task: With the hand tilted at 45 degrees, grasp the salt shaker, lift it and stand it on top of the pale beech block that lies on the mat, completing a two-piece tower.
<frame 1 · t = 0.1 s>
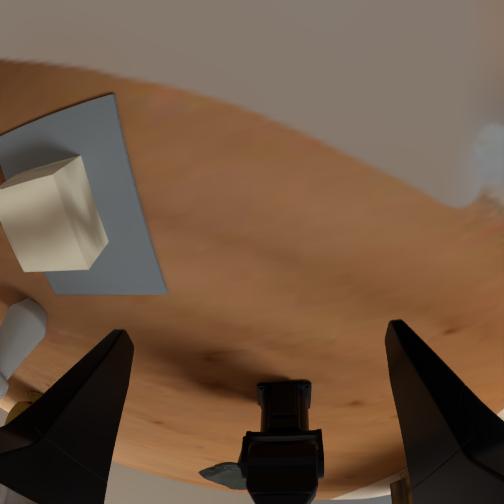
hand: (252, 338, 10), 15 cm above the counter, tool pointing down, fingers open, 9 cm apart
pitcher: (57, 408, 51), on the counter
beech block: (59, 206, 24), resting on mat
stone slab: (234, 473, 62), on the counter
crate: (460, 455, 60), on the counter
mat: (72, 213, 25), on the counter
salt shaker: (35, 309, 33), on the counter
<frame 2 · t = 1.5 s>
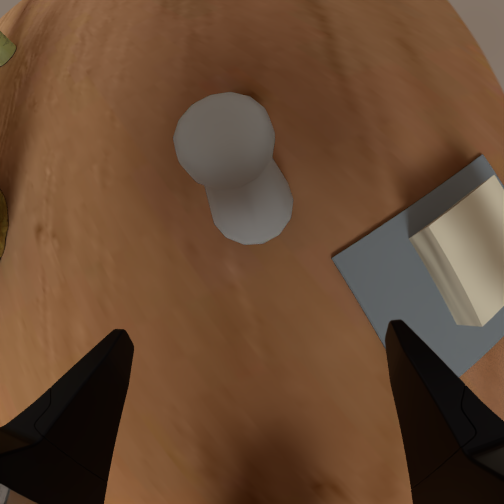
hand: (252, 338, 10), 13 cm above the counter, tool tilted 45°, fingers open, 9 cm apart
tube: (7, 57, 36), on the counter
beech block: (467, 254, 22), resting on mat
mat: (463, 272, 22), on the counter
salt shaker: (255, 213, 25), on the counter
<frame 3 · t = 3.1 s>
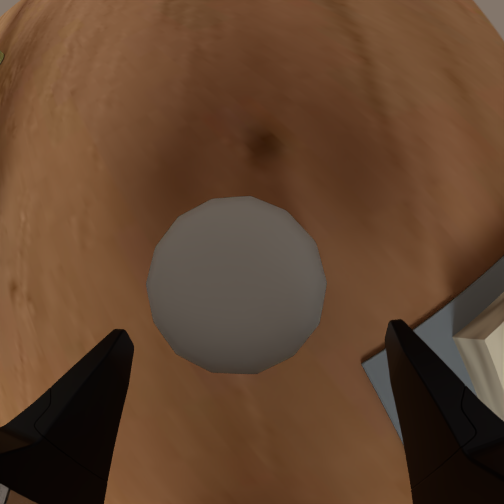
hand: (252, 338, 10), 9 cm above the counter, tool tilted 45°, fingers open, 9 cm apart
mat: (503, 368, 16), on the counter
salt shaker: (270, 303, 19), on the counter
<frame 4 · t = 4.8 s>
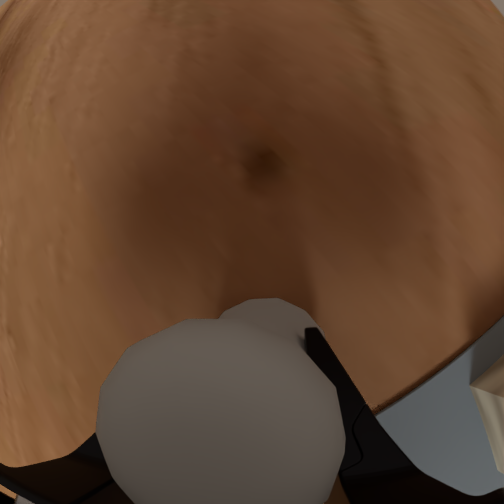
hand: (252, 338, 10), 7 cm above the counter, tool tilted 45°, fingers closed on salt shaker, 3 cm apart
salt shaker: (269, 354, 17), on the counter, touching gripper
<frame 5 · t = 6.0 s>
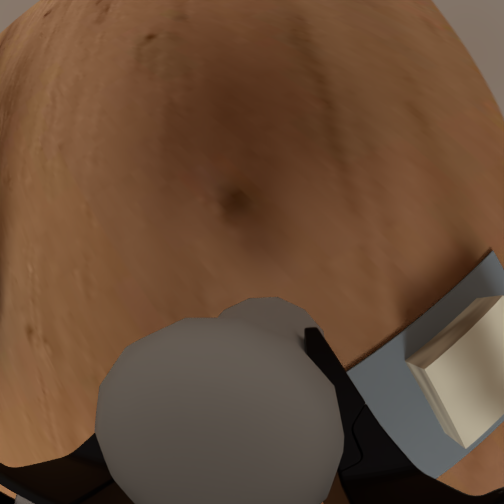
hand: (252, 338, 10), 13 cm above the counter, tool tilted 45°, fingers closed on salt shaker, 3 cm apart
beech block: (463, 367, 20), resting on mat
mat: (457, 383, 20), on the counter
salt shaker: (268, 353, 17), point 6 cm above the counter, touching gripper
when the fingers open (12 cm above the counter, at t = 7.7 s): salt shaker stays where it is, resting on beech block.
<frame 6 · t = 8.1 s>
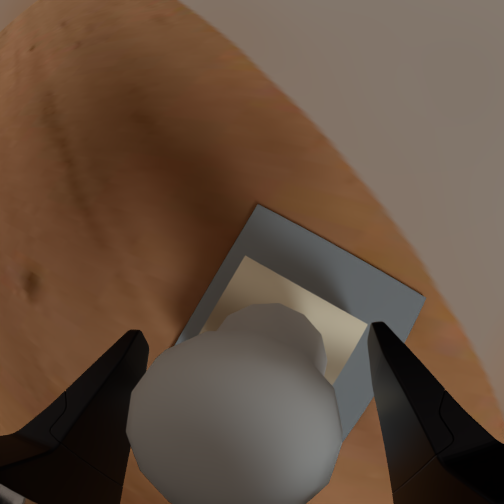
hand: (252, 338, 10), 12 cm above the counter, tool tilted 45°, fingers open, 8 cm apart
beech block: (274, 345, 21), resting on mat, touching salt shaker
mat: (279, 364, 21), on the counter
salt shaker: (269, 355, 17), point 4 cm above the counter, touching beech block
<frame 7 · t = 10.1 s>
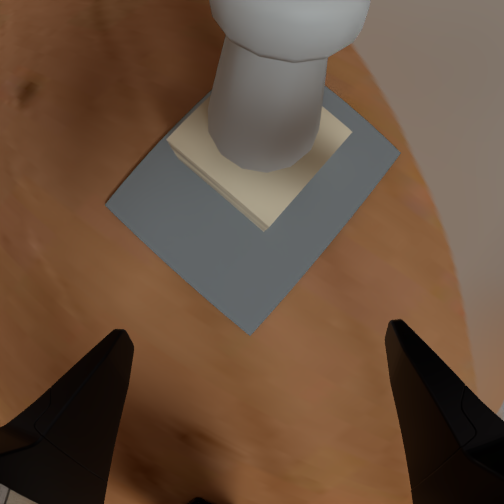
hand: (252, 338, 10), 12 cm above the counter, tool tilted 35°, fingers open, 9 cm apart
beech block: (257, 152, 22), resting on mat, touching salt shaker
mat: (258, 172, 22), on the counter
salt shaker: (260, 135, 18), point 4 cm above the counter, touching beech block
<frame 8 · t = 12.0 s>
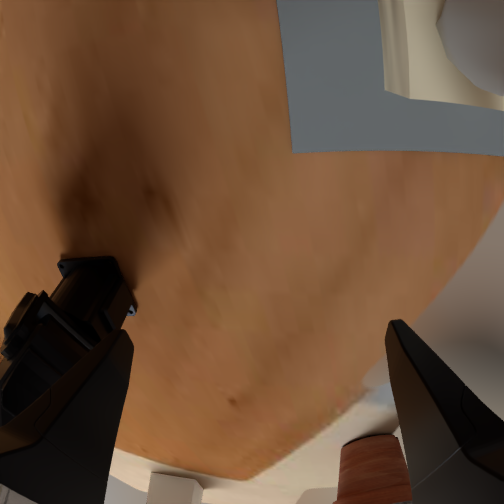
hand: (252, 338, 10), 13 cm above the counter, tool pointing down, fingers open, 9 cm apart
beech block: (438, 36, 14), resting on mat, touching salt shaker
milk: (178, 481, 66), on the counter
potted plant: (369, 441, 44), on the counter
mat: (423, 48, 15), on the counter
salt shaker: (466, 36, 11), point 4 cm above the counter, touching beech block
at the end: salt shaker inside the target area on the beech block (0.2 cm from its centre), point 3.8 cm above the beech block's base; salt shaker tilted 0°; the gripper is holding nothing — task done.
